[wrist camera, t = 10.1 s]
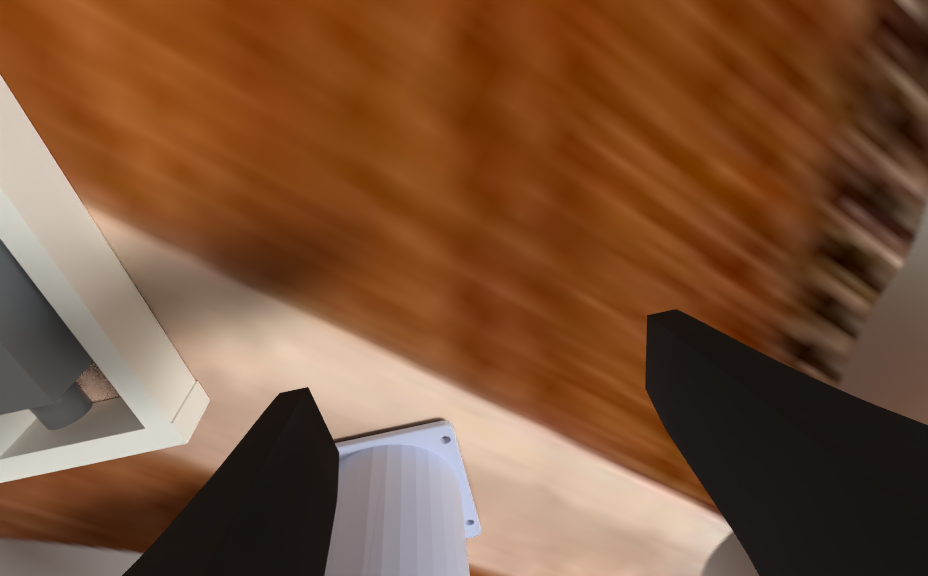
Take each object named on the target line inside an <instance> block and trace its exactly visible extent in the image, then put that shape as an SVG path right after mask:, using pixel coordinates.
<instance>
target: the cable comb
mask: <svg viewBox="0 0 928 576" xmlns="http://www.w3.org/2000/svg"><path fill="white" fill-rule="evenodd" d="M0 239H1V240H2V241H3V243H4V244H5V245H6V247H7V248H8V249H9V251H10V252H11V253H12V255H13V256H14V257H15V258H16V260H17V261H18V262H19V264H20V265H21V266H22V268H23V269H24V270H25V272H26V273H27V274H28V275H29V277H30V278H31V279H32V281H33V282H34V283H35V285H36V286H37V287H38V289H39V290H40V291H41V293H42V294H43V295H44V296H45V298H46V299H47V300H48V302H49V303H50V304H51V306H52V307H53V308H54V310H55V311H56V312H57V313H58V315H59V316H60V317H61V319H62V320H63V321H64V323H65V324H66V325H67V327H68V328H69V329H70V330H71V332H72V333H73V334H74V336H75V337H76V338H77V340H78V341H79V342H80V344H81V345H82V346H83V347H84V349H85V350H86V351H87V353H88V354H89V355H90V357H91V358H92V359H93V361H94V362H95V363H96V364H97V366H98V367H99V368H100V370H101V371H102V372H103V374H104V375H105V376H106V378H107V379H108V380H109V381H110V383H111V384H112V385H113V387H114V388H115V389H116V391H117V392H118V393H119V395H120V396H121V397H119V398H114V399H109V400H105V401H100V402H95V403H93V405H92V407H91V409H90V410H89V411H88V412H87V413H86V414H85V415H84V416H83V417H82V418H80V419H79V420H77V421H76V422H74V423H72V424H70V425H68V426H66V427H64V428H61V429H57V430H48V429H47V428H46V427H45V426H44V425H43V424H42V423H41V422H40V421H39V420H38V419H37V417H36V416H35V415H34V414H33V413H32V412H31V411H30V410H29V409H27V410H22V411H17V412H13V413H8V414H3V415H0V483H2V482H7V481H12V480H17V479H21V478H26V477H31V476H36V475H40V474H45V473H50V472H54V471H59V470H64V469H69V468H73V467H78V466H83V465H87V464H92V463H97V462H102V461H106V460H111V459H116V458H121V457H125V456H130V455H135V454H139V453H144V452H149V451H154V450H158V449H163V448H168V447H173V446H177V445H182V444H187V443H188V441H189V439H190V437H191V436H192V434H193V432H194V430H195V428H196V426H197V424H198V422H199V420H200V419H201V417H202V415H203V413H204V411H205V409H206V407H207V405H208V404H209V402H210V399H209V398H208V396H207V394H206V393H205V391H204V390H203V388H202V387H201V385H200V383H199V382H198V381H195V380H194V378H193V376H192V375H191V373H190V372H189V370H188V369H187V367H186V365H185V364H184V362H183V361H182V359H181V358H180V356H179V354H178V353H177V351H176V350H175V348H174V347H173V345H172V343H171V342H170V340H169V339H168V337H167V336H166V334H165V332H164V331H163V329H162V328H161V326H160V325H159V323H158V321H157V320H156V318H155V317H154V315H153V314H152V312H151V310H150V309H149V307H148V306H147V304H146V303H145V301H144V299H143V298H142V296H141V295H140V293H139V292H138V290H137V289H136V287H135V285H134V284H133V282H132V281H131V279H130V278H129V276H128V274H127V273H126V271H125V270H124V268H123V267H122V265H121V263H120V262H119V260H118V259H117V257H116V256H115V254H114V252H113V251H112V249H111V248H110V246H109V245H108V243H107V241H106V240H105V238H104V237H103V235H102V234H101V232H100V230H99V229H98V227H97V226H96V224H95V223H94V221H93V219H92V218H91V216H90V215H89V213H88V212H87V210H86V208H85V207H84V205H83V204H82V202H81V201H80V199H79V198H78V196H77V194H76V193H75V191H74V190H73V188H72V187H71V185H70V183H69V182H68V180H67V179H66V177H65V176H64V174H63V172H62V171H61V169H60V168H59V166H58V165H57V163H56V161H55V160H54V158H53V157H52V155H51V154H50V152H49V150H48V149H47V147H46V146H45V144H44V143H43V141H42V139H41V138H40V136H39V135H38V133H37V132H36V130H35V128H34V127H33V125H32V124H31V122H30V121H29V119H28V117H27V116H26V114H25V113H24V111H23V110H22V108H21V106H20V105H19V103H18V102H17V100H16V99H15V97H14V96H13V94H12V92H11V91H10V89H9V88H8V86H7V85H6V83H5V81H4V80H3V78H2V77H1V75H0Z"/></svg>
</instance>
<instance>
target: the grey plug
mask: <svg viewBox="0 0 928 576" xmlns="http://www.w3.org/2000/svg"><path fill="white" fill-rule="evenodd" d="M92 362H93V359H92V358H91V357H90V355H89V354H88V353H87V351H86V350H85V349H84V347H83V346H82V345H81V344H80V342H79V341H78V340H77V338H76V337H75V336H74V334H73V333H72V332H71V330H70V329H69V328H68V327H67V325H66V324H65V323H64V321H63V320H62V319H61V317H60V316H59V315H58V313H57V312H56V311H55V310H54V308H53V307H52V306H51V304H50V303H49V302H48V300H47V299H46V298H45V296H44V295H43V294H42V293H41V291H40V290H39V289H38V287H37V286H36V285H35V283H34V282H33V281H32V279H31V278H30V277H29V275H28V274H27V273H26V272H25V270H24V269H23V268H22V266H21V265H20V264H19V262H18V261H17V260H16V258H15V257H14V256H13V255H12V253H11V252H10V251H9V249H8V248H7V247H6V245H5V244H4V243H3V241H2V240H1V239H0V415H3V414H8V413H13V412H17V411H22V410H27V409H29V410H30V411H31V412H32V413H33V414H34V415H35V416H36V417H37V419H38V420H39V421H40V422H41V423H42V424H43V425H44V426H45V427H46V428H47V429H48V430H57V429H61V428H64V427H66V426H68V425H70V424H72V423H74V422H76V421H77V420H79V419H80V418H82V417H83V416H84V415H85V414H86V413H87V412H88V411H89V410H90V409H91V407H92V405H93V402H92V401H91V400H90V398H89V397H88V396H87V395H86V393H85V392H84V391H83V390H82V389H81V387H80V386H79V385H78V384H77V382H76V380H77V379H78V377H79V376H80V375H81V374H82V373H83V372H84V371H85V370H86V369H87V368H88V367H89V366H90V365H91V364H92Z"/></svg>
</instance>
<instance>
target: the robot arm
mask: <svg viewBox="0 0 928 576" xmlns="http://www.w3.org/2000/svg"><path fill="white" fill-rule="evenodd" d="M645 388H646V390H647V393H648V395H649V397H650V399H651V401H652V403H653V405H654V407H655V409H656V411H657V413H658V415H659V417H660V419H661V421H662V423H663V425H664V427H665V429H666V431H667V432H668V434H669V435H670V437H671V438H672V440H673V441H674V443H675V444H676V446H677V448H678V449H679V451H680V452H681V454H682V455H683V457H684V458H685V460H686V461H687V463H688V464H689V466H690V467H691V469H692V470H693V472H694V473H695V475H696V476H697V478H698V479H699V481H700V482H701V484H702V485H703V487H704V488H705V490H706V491H707V493H708V494H709V496H710V497H711V499H712V500H713V501H714V503H715V504H716V506H717V507H718V509H719V510H720V512H721V513H722V515H723V516H724V518H725V519H726V521H727V522H728V524H729V525H730V527H731V528H732V530H733V531H734V533H735V535H736V536H737V538H738V540H739V541H740V543H741V544H742V546H743V548H744V549H745V551H746V553H747V554H748V556H749V558H750V559H751V561H752V563H753V565H754V567H755V569H756V570H757V572H758V574H759V576H928V425H926V424H923V423H920V422H918V421H915V420H913V419H910V418H907V417H905V416H902V415H900V414H897V413H894V412H892V411H889V410H887V409H884V408H882V407H879V406H876V405H874V404H872V403H869V402H867V401H864V400H862V399H860V398H857V397H855V396H852V395H850V394H848V393H846V392H843V391H841V390H839V389H837V388H834V387H832V386H830V385H828V384H825V383H823V382H821V381H819V380H817V379H814V378H812V377H810V376H808V375H806V374H804V373H801V372H799V371H797V370H795V369H793V368H791V367H789V366H787V365H785V364H783V363H781V362H779V361H777V360H774V359H772V358H770V357H768V356H766V355H764V354H763V353H761V352H759V351H757V350H755V349H753V348H751V347H749V346H747V345H745V344H743V343H741V342H739V341H737V340H735V339H733V338H731V337H730V336H728V335H726V334H724V333H722V332H720V331H718V330H716V329H714V328H712V327H710V326H709V325H707V324H705V323H703V322H701V321H699V320H697V319H695V318H693V317H691V316H689V315H687V314H685V313H683V312H681V311H679V310H677V309H675V310H670V311H666V312H661V313H656V314H651V315H647V346H646V385H645ZM444 436H448V437H446V438H443V437H444ZM480 533H481V526H480V522H479V519H478V515H477V511H476V508H475V504H474V500H473V497H472V493H471V490H470V486H469V482H468V479H467V475H466V472H465V468H464V464H463V461H462V457H461V453H460V450H459V446H458V443H457V439H456V435H455V432H454V428H453V425H452V424H451V423H450V422H449V421H438V422H433V423H429V424H424V425H419V426H414V427H410V428H405V429H400V430H395V431H391V432H386V433H381V434H377V435H372V436H367V437H362V438H358V439H353V440H348V441H343V442H339V443H334V441H333V438H332V436H331V434H330V432H329V430H328V428H327V426H326V424H325V422H324V420H323V417H322V415H321V413H320V411H319V409H318V407H317V405H316V403H315V401H314V399H313V396H312V394H311V392H310V390H309V388H308V387H307V388H302V389H297V390H292V391H288V392H283V393H279V394H278V396H277V397H276V398H275V399H274V400H273V401H272V403H271V404H270V405H269V406H268V407H267V409H266V410H265V411H264V412H263V414H262V415H261V416H260V417H259V419H258V420H257V421H256V422H255V424H254V425H253V426H252V427H251V429H250V430H249V431H248V433H247V434H246V435H245V436H244V438H243V439H242V440H241V441H240V443H239V444H238V445H237V446H236V448H235V449H234V450H233V451H232V452H231V454H230V455H229V456H228V457H227V459H226V460H225V461H224V462H223V464H222V465H221V466H220V467H219V468H218V470H217V471H216V472H215V473H214V475H213V476H212V477H211V478H210V480H209V481H208V482H207V483H206V484H205V485H204V487H203V488H202V489H201V490H200V491H199V492H198V493H197V495H196V496H195V497H194V498H193V499H192V500H191V501H190V503H189V504H188V505H187V506H186V507H185V508H184V509H183V511H182V512H181V513H180V514H179V515H178V516H177V517H176V519H175V520H174V521H173V522H172V523H171V524H170V525H169V527H168V528H167V529H166V530H165V531H164V532H163V533H162V535H161V536H160V537H159V538H158V539H157V540H156V541H155V542H154V543H153V544H152V545H151V546H150V547H149V548H148V550H147V551H146V552H145V553H144V554H143V555H142V556H141V557H140V558H139V559H138V560H137V561H136V562H135V563H134V564H133V565H132V566H131V568H129V569H128V570H127V571H126V572H125V573H124V574H123V575H122V576H470V573H469V564H468V555H467V546H466V539H467V538H472V537H476V536H478V535H479V534H480Z"/></svg>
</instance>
